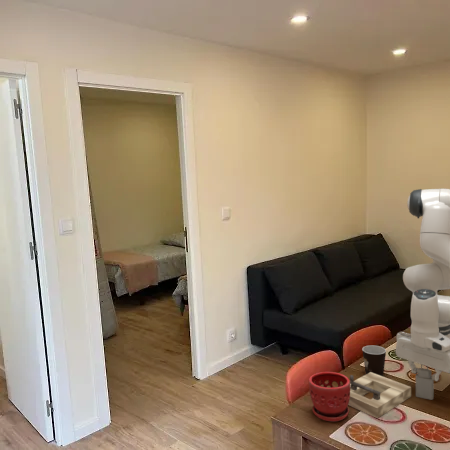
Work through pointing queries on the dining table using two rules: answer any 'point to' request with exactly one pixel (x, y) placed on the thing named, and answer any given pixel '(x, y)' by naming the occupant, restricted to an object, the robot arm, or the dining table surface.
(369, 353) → the coffee mug
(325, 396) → the plant pot
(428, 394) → the power adapter
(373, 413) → the tidy board
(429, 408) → the dining table surface
